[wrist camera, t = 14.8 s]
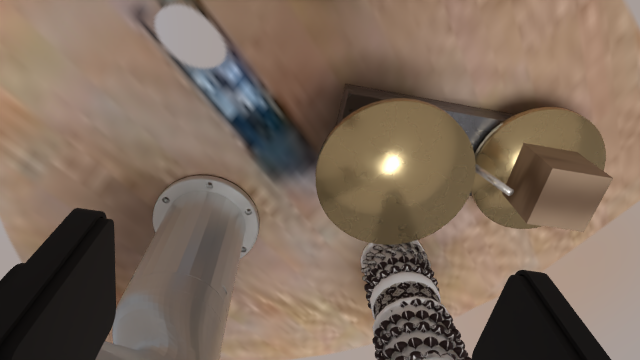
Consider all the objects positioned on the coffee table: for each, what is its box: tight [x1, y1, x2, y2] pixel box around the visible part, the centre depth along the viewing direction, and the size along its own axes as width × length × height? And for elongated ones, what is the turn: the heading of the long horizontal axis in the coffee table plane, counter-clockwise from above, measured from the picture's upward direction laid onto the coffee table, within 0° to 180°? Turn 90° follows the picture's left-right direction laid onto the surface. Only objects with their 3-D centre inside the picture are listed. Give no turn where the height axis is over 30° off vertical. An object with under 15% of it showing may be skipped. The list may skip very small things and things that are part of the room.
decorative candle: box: [360, 240, 472, 360], centre depth 47 cm, size 9×9×25 cm
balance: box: [316, 84, 606, 245], centre depth 45 cm, size 14×31×12 cm, turn 79°
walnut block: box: [502, 143, 613, 232], centre depth 44 cm, size 6×6×6 cm
